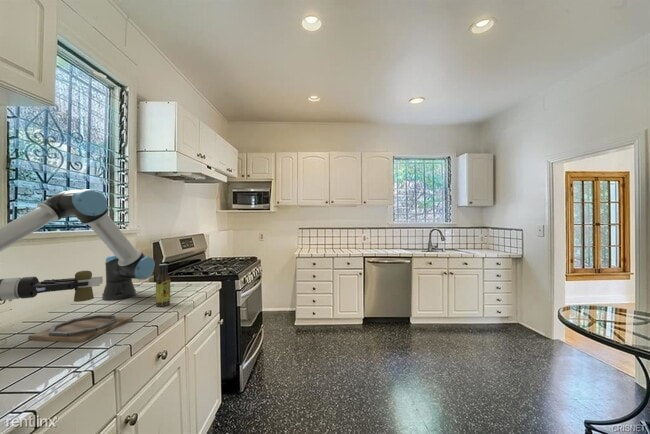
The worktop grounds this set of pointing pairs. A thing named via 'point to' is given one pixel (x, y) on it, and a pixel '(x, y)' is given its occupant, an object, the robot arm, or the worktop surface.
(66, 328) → the walnut board
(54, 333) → the steel ring
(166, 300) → the sauce bottle
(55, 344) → the worktop surface
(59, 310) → the worktop surface
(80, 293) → the cork
